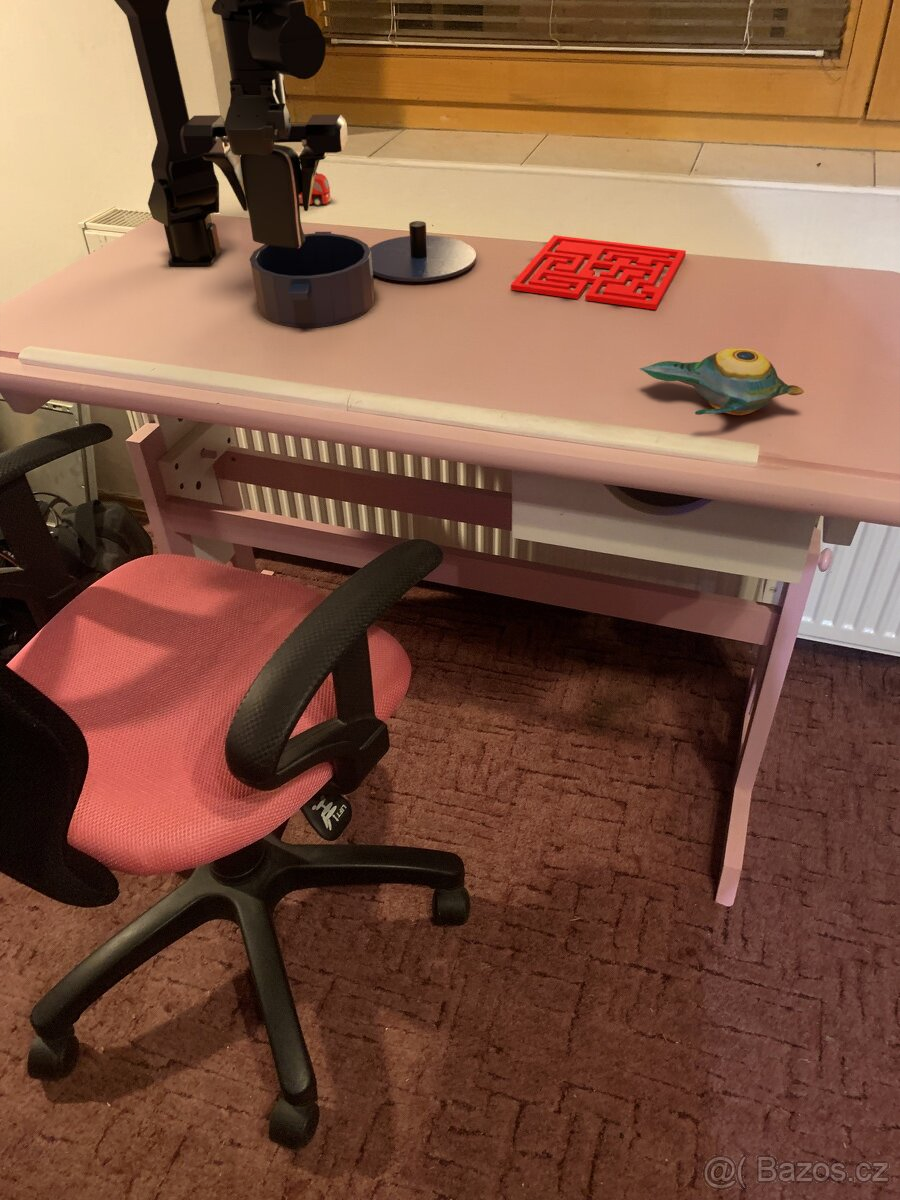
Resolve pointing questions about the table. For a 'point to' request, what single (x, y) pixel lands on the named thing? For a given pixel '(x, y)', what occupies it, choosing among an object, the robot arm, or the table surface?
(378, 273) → the lid
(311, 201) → the toy fire truck
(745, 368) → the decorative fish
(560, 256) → the maze puzzle
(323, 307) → the pan
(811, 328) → the table surface
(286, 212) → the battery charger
